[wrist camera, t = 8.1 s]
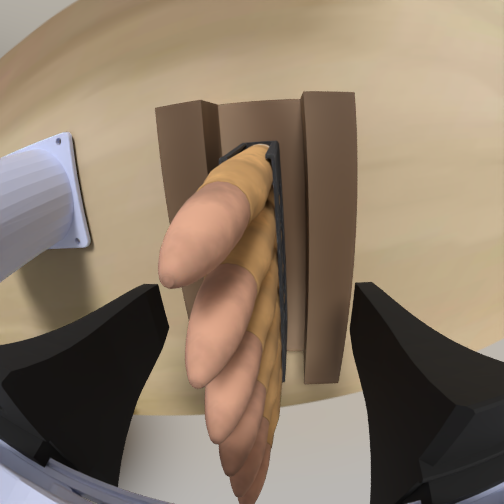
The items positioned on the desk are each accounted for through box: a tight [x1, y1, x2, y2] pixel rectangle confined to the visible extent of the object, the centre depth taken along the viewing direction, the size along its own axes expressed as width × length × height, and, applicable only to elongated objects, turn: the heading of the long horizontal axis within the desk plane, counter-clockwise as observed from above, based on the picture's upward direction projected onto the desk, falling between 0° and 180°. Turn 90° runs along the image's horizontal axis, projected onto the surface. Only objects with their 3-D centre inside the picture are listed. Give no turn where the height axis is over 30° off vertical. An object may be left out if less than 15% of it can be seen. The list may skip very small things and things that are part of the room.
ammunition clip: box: [158, 141, 288, 504], centre depth 10 cm, size 11×2×12 cm, turn 5°
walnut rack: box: [155, 91, 357, 384], centre depth 15 cm, size 8×15×4 cm, turn 4°
